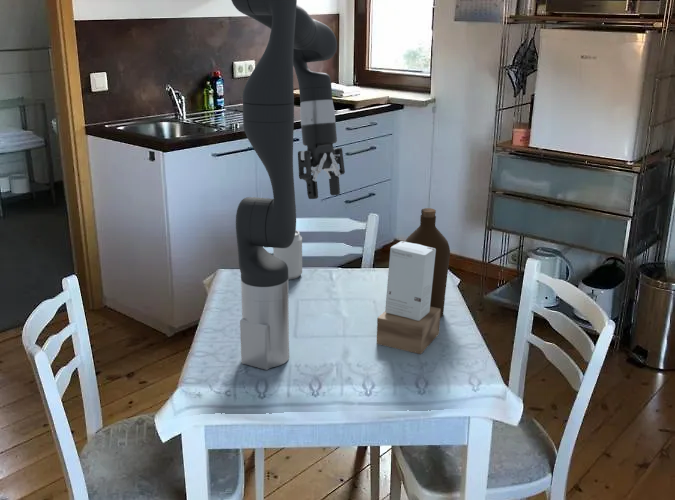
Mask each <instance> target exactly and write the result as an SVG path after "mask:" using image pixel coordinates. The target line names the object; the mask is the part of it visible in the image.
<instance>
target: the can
mask: <svg viewBox="0 0 675 500" xmlns="http://www.w3.org/2000/svg"><path fill="white" fill-rule="evenodd" d="M272 249H273V251H272V252H273V254H272V255H273V256H275V257H277V258H279V259H281V260H283V261H284V262H285V263H286V264H287V266H288V280H294V279H298V278H299V277H300V276H301V275H302V274H303V236H302V235H300V231H299V230H298V229H296V232H295V237H294V240H293V243H292V244H291V245H290V246H289V247H287V248H272Z"/></svg>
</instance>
